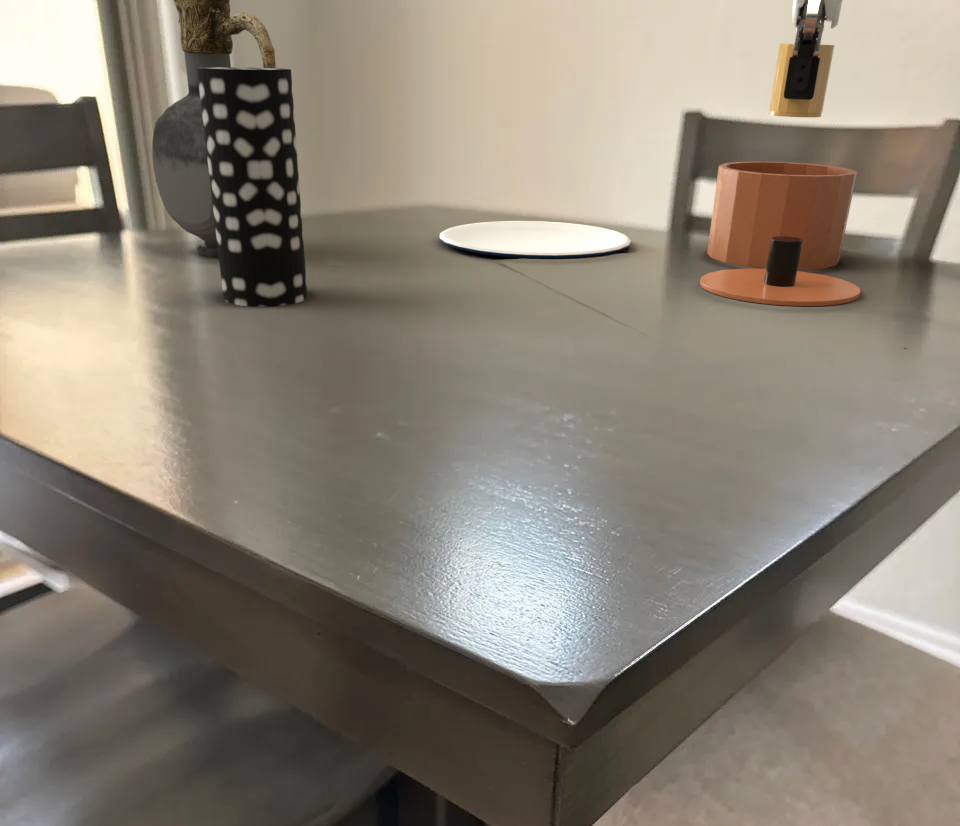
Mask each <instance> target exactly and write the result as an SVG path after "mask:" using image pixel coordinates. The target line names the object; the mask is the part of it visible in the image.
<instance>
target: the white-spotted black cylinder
mask: <svg viewBox="0 0 960 826" xmlns="http://www.w3.org/2000/svg"><path fill="white" fill-rule="evenodd" d="M197 73H198V82H199V91H200V99H201V108H202V117H203V125H204V134H205V143H206V151H207V160H208V168H209V177H210V186H211V194H212V203H213V212H214V220H215V229H216V237H217V246H218V255H219V258H218V262H219V263H218V264H219V272H220V279H221V281H220V282H221V288H222V289H221V290H222V297H223V301H225V302H226V303H229V304H231V305H236V306H241V307H255V308H267V307H282V306H290V305H294V304H299V303H302V302H305V300H307V299H308V286H307V285H308V284H307V271H306V259H305V257H306V256H305V245H304V243H305V242H304V231H303V216H302V203H301V190H300V174H299V161H298V146H297V133H296V119H295V118H296V117H295V104H294V91H293V77H292V69H291V68H280V67H279V68H278V67H276V68H263V67H244V66H243V67H240V66H239V67H237V66H231V67H199V68H197Z"/></svg>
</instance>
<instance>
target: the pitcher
mask: <svg viewBox="0 0 960 826" xmlns="http://www.w3.org/2000/svg"><path fill="white" fill-rule="evenodd" d="M230 1H231V0H173V4H174V6H175V9H176V11H177V14H178V24H179V37H180V38H179V39H180V46H181V51H182V52H183V53H184V54H183V55H184V60H185V61H184V62H185V70H186V79H187V87H188V94H186V95H185V96H183V97H182V98H180V99H179V100H176V101H175V102H173V103H172V104H171V105H169V106H168V107H167V108H166V109H165V110H164V111H163V112H162V113H161V114H160V116H159V117H158V118H157V119H156V121H155V124H154V127H153V128H154V129H153V132H152V142H151V145H152V147H151V148H152V149H151V156H152V168H153V173H154V174H153V175H154V178H155V179H154V180H155V183H156V187H157V190H158V193H159V197H160V199H161V201H162V204H163V206H164V208H165V211H167V214H168V215H169V217H170V218H171V219H172V220H173V221H174V222H175V223H176V224H177V225H178V226H179V227H180V228H182V229H183V230H184V231H185V232H186V233H189V234H191V235H193V236H196V237H197V238H199V239H201V240H202V241H200V242H198V243H197V244H196V245H195V250H196V252H197V254H198V255H200V256H203V257H208V258H216V259H219V255H218V246H217V237H216V229H215V220H214V212H213V203H212V194H211V186H210V177H209V168H208V160H207V151H206V143H205V134H204V125H203V117H202V108H201V99H200V91H199V82H198V73H197V68H199V67H232V64H231V54H233V49H234V43H233V42H234V41H233V37H232V36H236V35H239V34H240V33H242V32H243V31H246V32H249V33H250V34H251V35H252V36H253V38H254V39H255V41H256V43H257V45H258V48H259V52H260V55H261V61H262V68H277V64H276V53H275V52H276V51H275V48H274V46H273V43H272V40H271V38H270V34H269V32H268V30H267V28H266V26H265V25H264V24H263V23H262V21H260V19H259V18H258V17H257V16H255V15H253V14H251V13H249V12H245V11H244V12H238V13H236V14H234V15H233V16H231V4H230V3H231V2H230Z"/></svg>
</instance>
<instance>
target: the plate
mask: <svg viewBox="0 0 960 826" xmlns="http://www.w3.org/2000/svg"><path fill="white" fill-rule="evenodd" d="M439 241H441V242H442V243H444V244H445V245H446V246H448V247H450V248H451V247H452V248H455V249H458V250H462V251H466V252H470V253H474V254H479V255H485V256H490V257H497V258H507V259H518V260H519V259H521V260H523V259H571V258H572V259H576V258H577V259H578V258H586V257H587V258H588V257H598V256H603V255H609V254H614V253H619V252H620V251H623V250H626V249H628V248H629V246H630V245H631V244H632V240H631V239H630V237H629V236H628V235H626V234H625V233H623V232H619V231H617V230H613V229H609V228H605V227H602V226H601V227H600V226H595V225H588V224H580V223H570V222H561V221H560V222H559V221H545V220H544V221H541V220H501V221H500V220H499V221H498V220H497V221H484V222H483V221H482V222H475V223H467V224H460V225H457V226H452V227H449V228H446V229H445V230H443V231H441V232H440V233H439Z"/></svg>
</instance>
